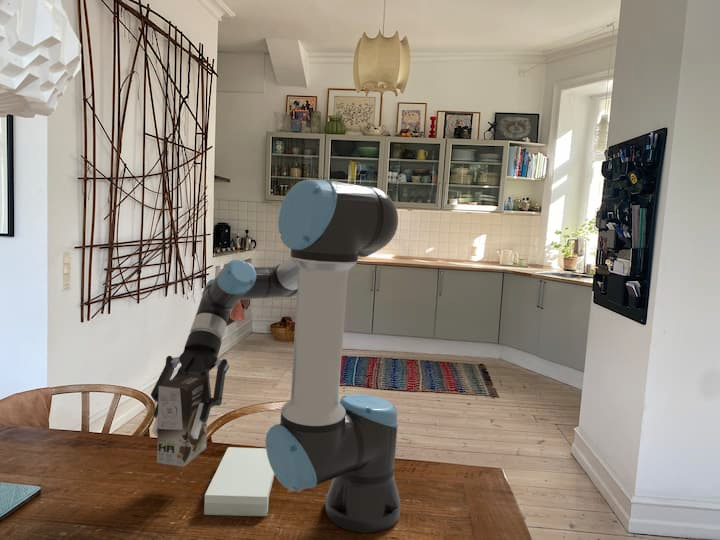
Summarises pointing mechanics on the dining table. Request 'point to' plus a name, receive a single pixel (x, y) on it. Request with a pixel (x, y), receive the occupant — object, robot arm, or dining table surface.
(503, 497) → the dining table surface
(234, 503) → the shelf step
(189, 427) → the coffee box
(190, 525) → the dining table surface
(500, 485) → the dining table surface
